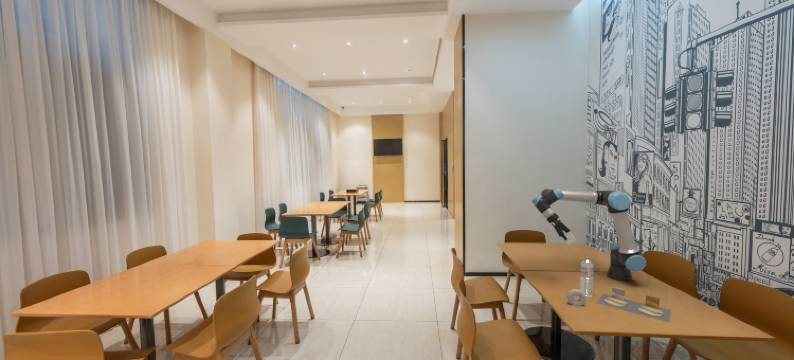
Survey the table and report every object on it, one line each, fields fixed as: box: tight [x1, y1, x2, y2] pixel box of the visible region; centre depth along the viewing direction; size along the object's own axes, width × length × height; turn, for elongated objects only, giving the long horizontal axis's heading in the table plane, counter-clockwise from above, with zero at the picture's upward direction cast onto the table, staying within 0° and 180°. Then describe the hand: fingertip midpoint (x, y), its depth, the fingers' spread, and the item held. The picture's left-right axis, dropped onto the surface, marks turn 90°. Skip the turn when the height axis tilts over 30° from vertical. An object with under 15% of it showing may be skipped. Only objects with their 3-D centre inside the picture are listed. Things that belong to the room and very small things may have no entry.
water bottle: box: [579, 256, 595, 299], centre depth 191 cm, size 7×7×25 cm
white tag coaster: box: [604, 286, 627, 307], centre depth 183 cm, size 14×11×6 cm
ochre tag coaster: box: [638, 294, 664, 317], centre depth 172 cm, size 14×11×6 cm
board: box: [596, 293, 672, 323], centre depth 177 cm, size 18×32×1 cm, turn 46°
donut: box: [566, 288, 587, 307], centre depth 180 cm, size 10×4×10 cm, turn 75°
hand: (572, 242), depth 205 cm, fingers open, 13 cm apart
